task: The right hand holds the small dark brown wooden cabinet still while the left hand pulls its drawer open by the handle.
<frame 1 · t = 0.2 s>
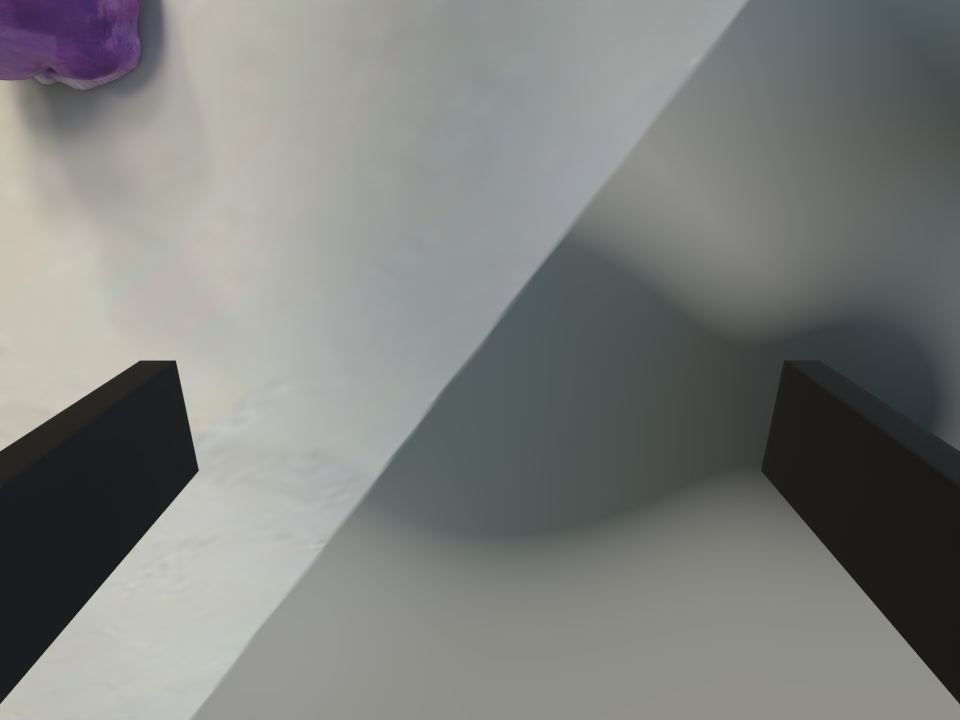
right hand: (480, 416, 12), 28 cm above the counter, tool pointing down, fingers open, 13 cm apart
figurine: (78, 26, 34), on the counter
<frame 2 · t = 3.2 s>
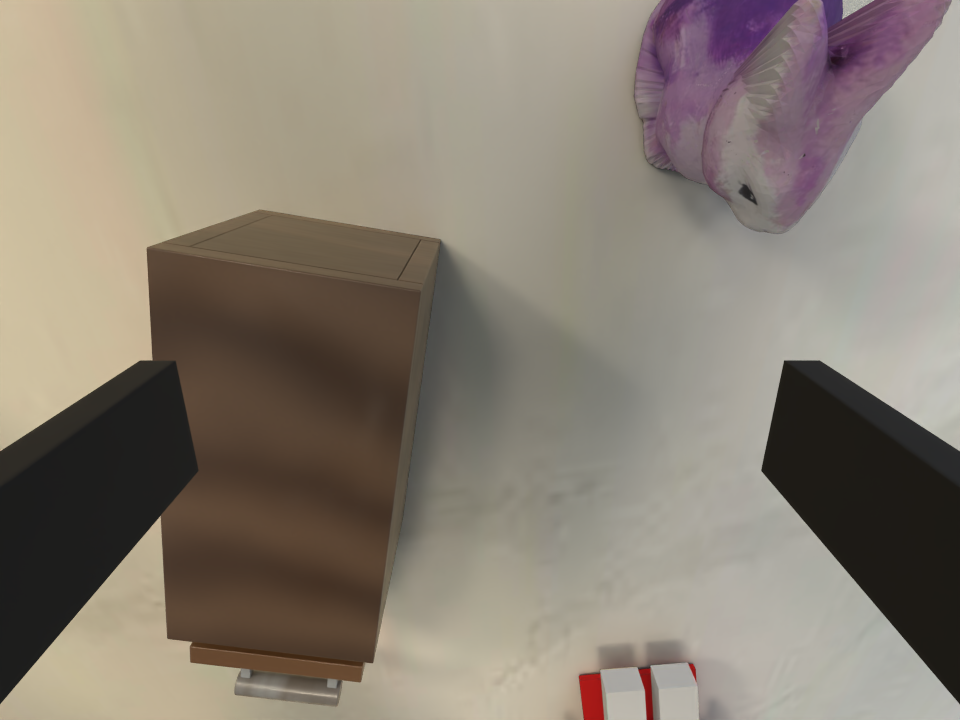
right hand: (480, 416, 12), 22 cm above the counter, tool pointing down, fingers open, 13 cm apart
drawer: (307, 519, 33), point 6 cm above the counter, slide at 1.6 cm
figurine: (707, 88, 30), on the counter
cabinet: (338, 381, 36), on the counter
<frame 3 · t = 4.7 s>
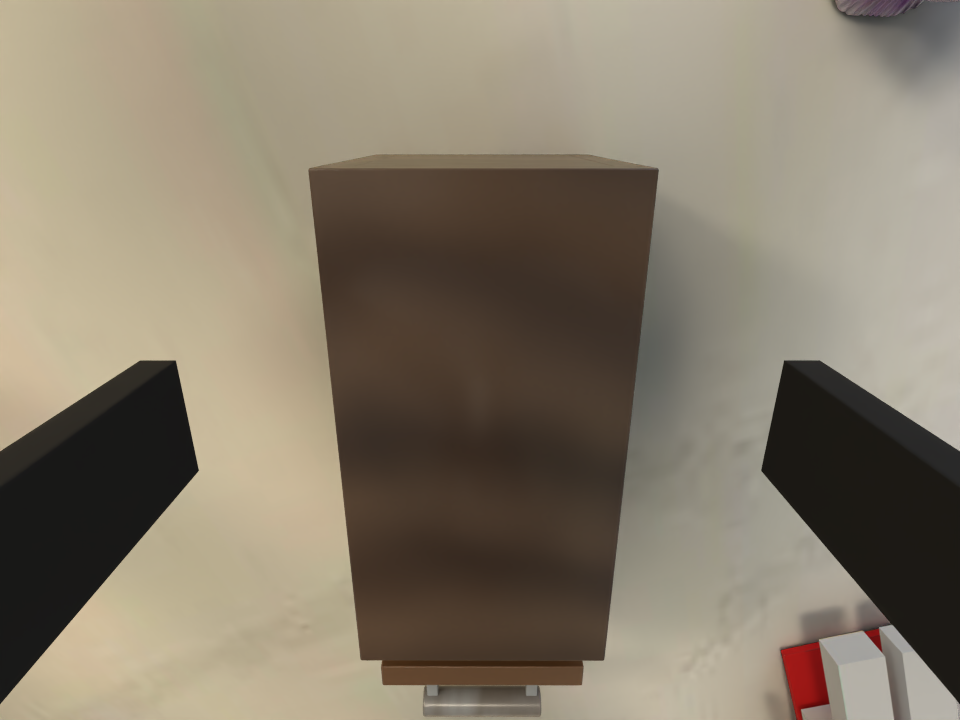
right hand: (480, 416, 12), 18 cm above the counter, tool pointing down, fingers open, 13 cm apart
drawer: (482, 505, 28), point 6 cm above the counter, slide at 1.6 cm
cabinet: (482, 346, 32), on the counter
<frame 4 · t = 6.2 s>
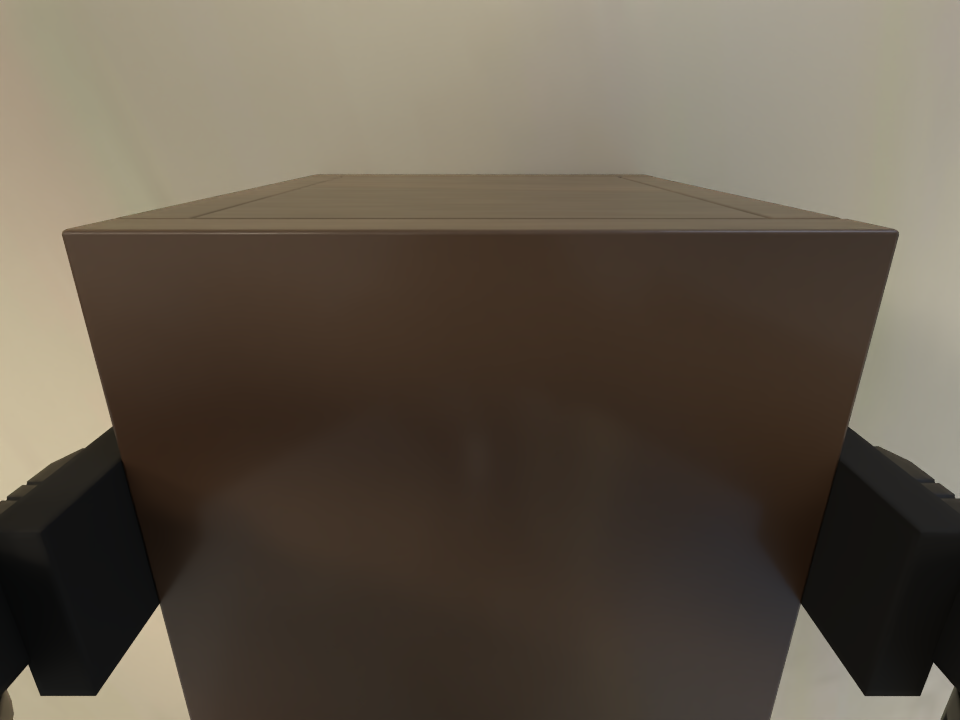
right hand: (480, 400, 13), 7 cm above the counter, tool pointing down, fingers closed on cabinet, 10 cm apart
cabinet: (479, 450, 22), on the counter, touching right hand
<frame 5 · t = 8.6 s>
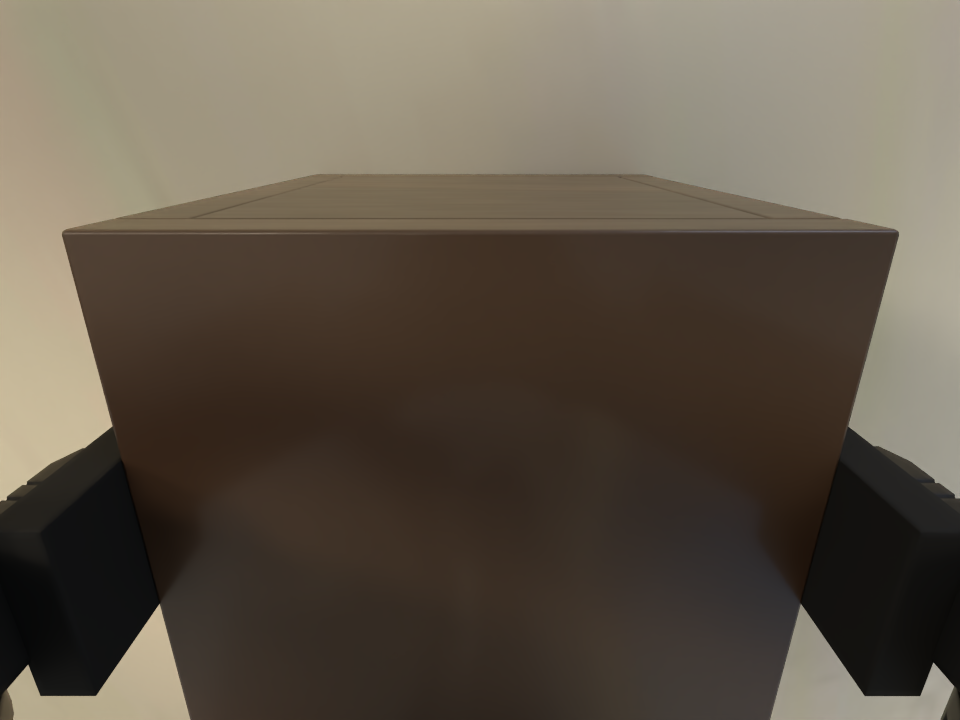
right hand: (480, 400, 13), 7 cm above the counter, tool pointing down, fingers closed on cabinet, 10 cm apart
cabinet: (479, 450, 22), on the counter, touching right hand
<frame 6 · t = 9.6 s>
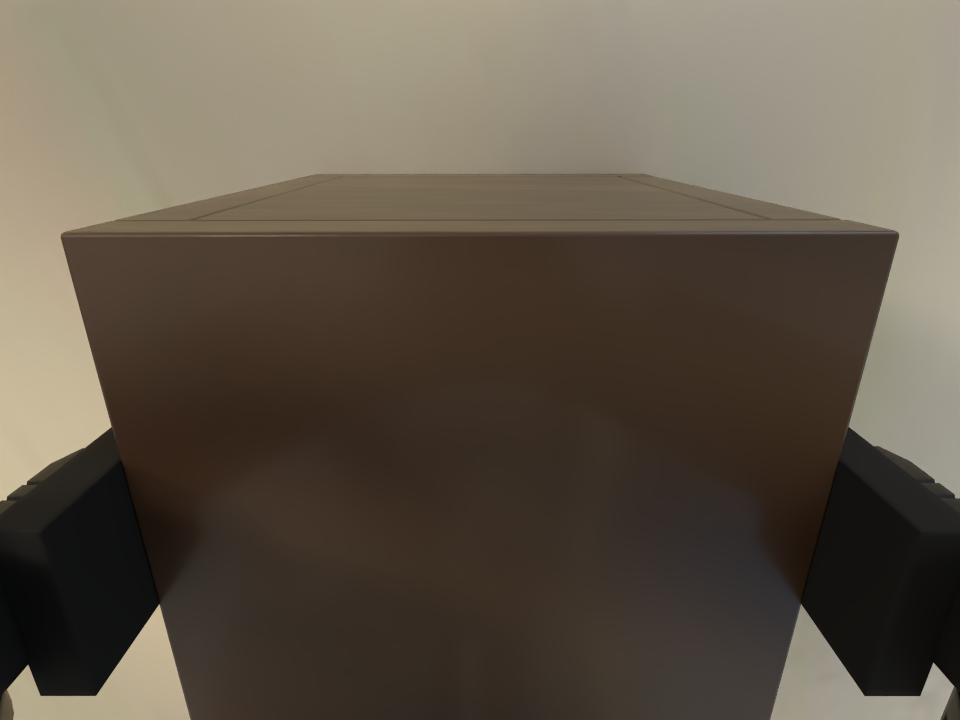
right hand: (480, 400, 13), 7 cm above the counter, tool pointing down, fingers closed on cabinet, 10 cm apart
cabinet: (480, 450, 22), on the counter, touching right hand
when the right hand's fingers open (7 cm above the counter, at t = 11.3 s): cabinet stays where it is, on the counter.
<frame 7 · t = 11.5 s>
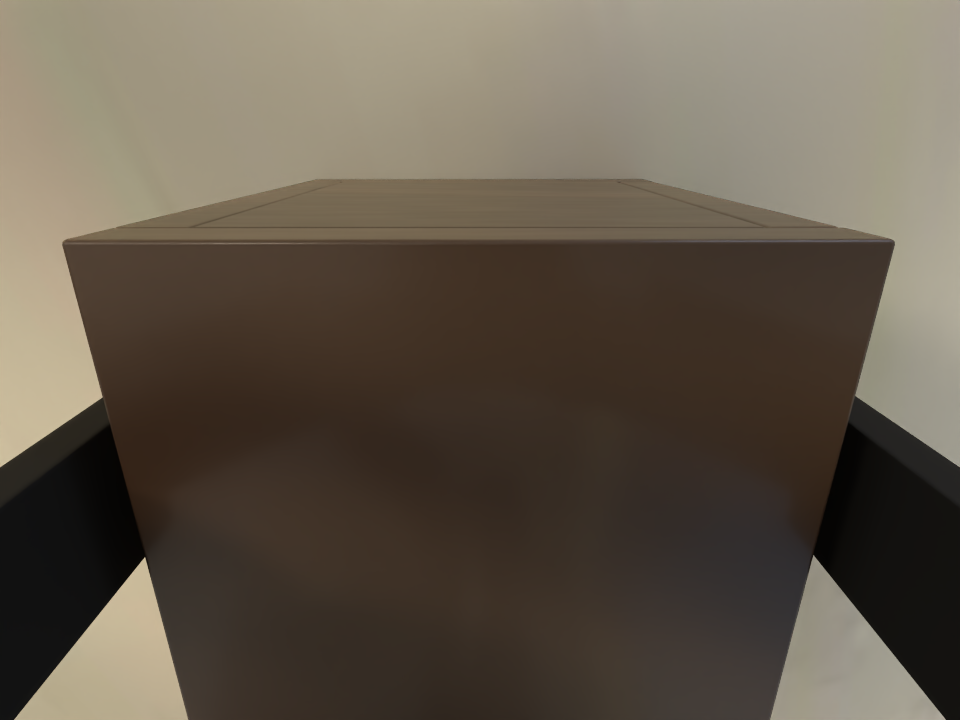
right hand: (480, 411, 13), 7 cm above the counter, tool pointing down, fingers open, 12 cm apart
cabinet: (479, 454, 22), on the counter
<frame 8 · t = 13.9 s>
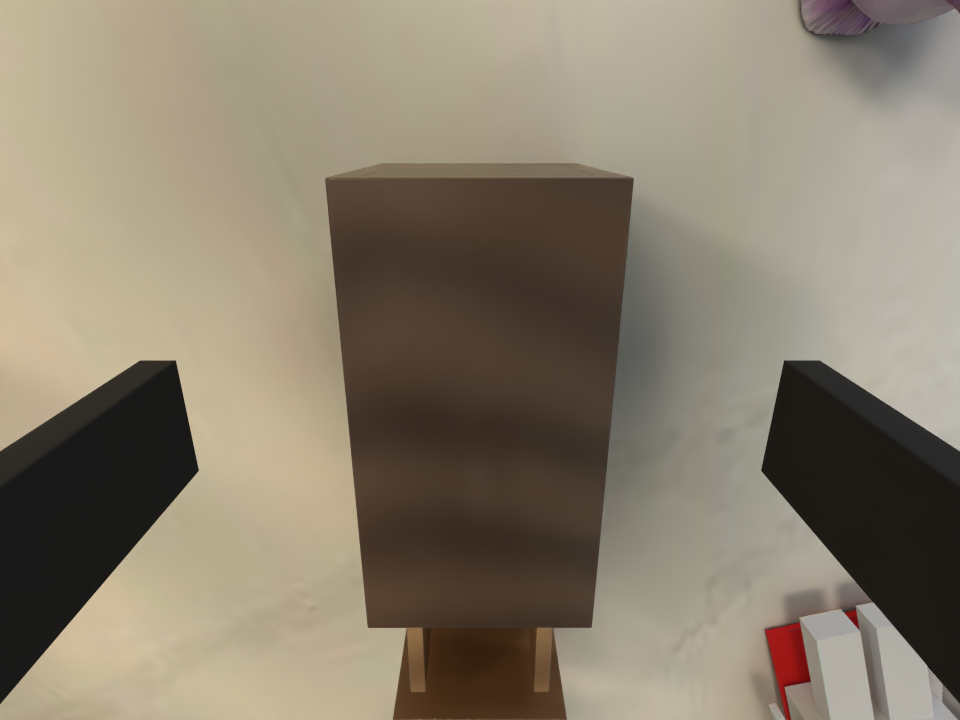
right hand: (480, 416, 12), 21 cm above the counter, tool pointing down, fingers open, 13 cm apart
drawer: (479, 575, 33), point 6 cm above the counter, slide at 7.5 cm
cabinet: (479, 341, 34), on the counter
toy: (832, 716, 45), on the counter
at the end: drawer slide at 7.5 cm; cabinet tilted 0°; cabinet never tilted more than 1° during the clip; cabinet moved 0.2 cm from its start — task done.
